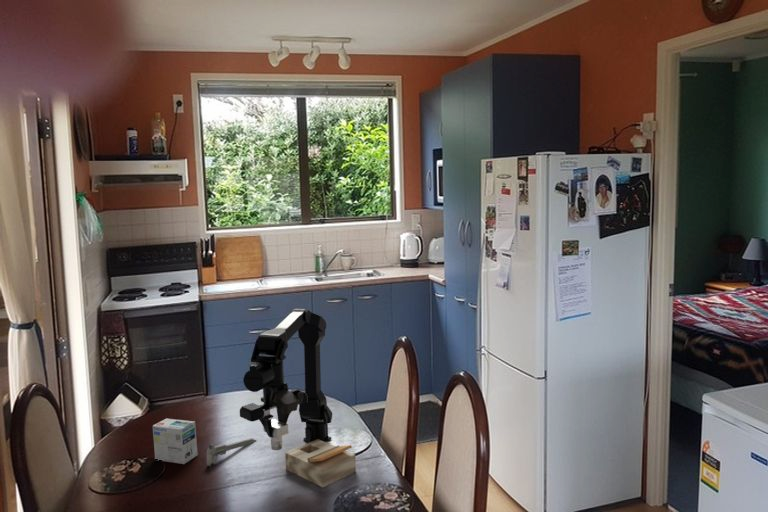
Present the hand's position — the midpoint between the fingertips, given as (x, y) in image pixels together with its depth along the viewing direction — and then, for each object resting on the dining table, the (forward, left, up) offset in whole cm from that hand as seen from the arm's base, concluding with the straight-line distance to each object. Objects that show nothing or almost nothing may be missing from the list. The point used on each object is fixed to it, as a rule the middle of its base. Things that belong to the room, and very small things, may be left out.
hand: (276, 434), depth 171 cm
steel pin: (0, 0, -4) cm, 4 cm away
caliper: (0, -23, -13) cm, 26 cm away
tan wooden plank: (-10, +10, -6) cm, 16 cm away
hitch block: (-10, +6, -12) cm, 17 cm away
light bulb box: (+13, -33, -12) cm, 38 cm away
